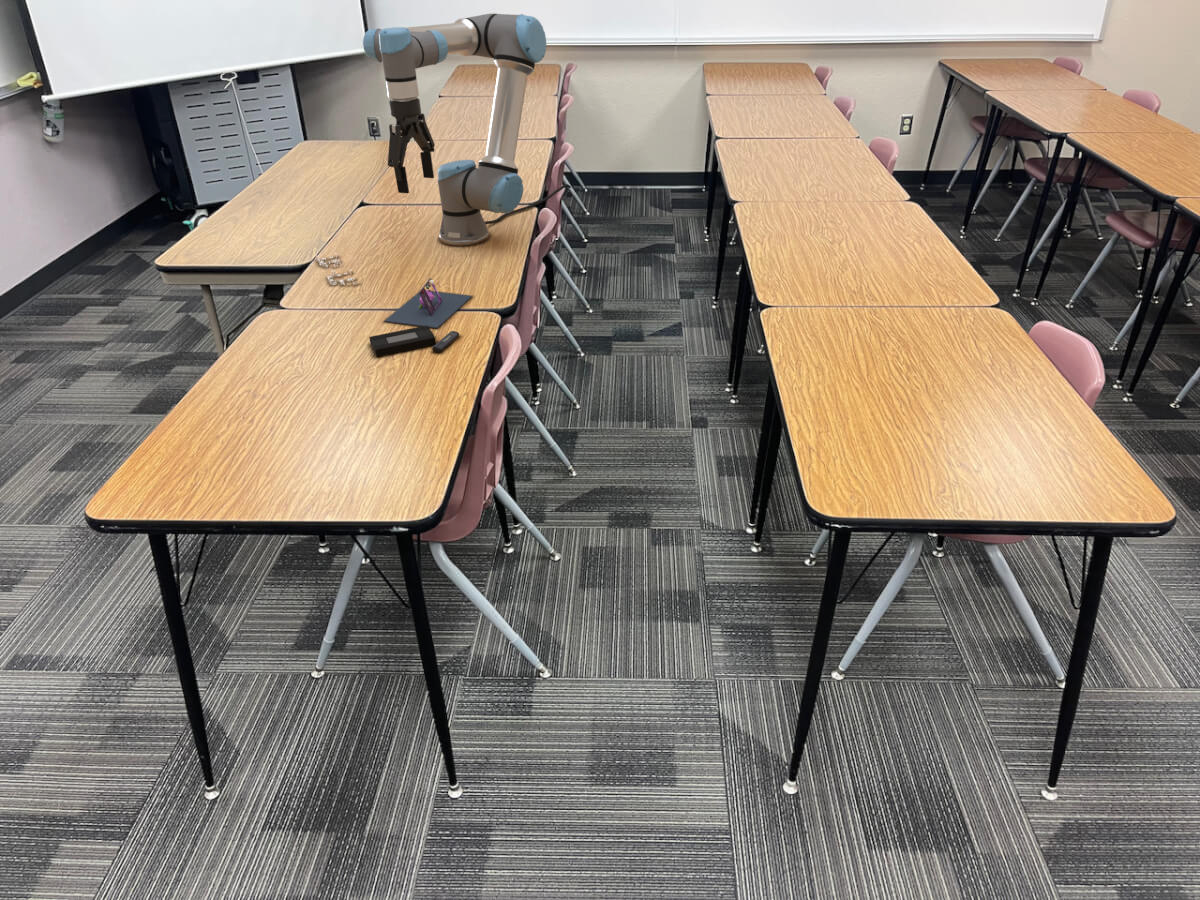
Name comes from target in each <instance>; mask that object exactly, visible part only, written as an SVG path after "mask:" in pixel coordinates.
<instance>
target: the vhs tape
mask: <svg viewBox="0 0 1200 900" xmlns="http://www.w3.org/2000/svg"><path fill="white" fill-rule="evenodd" d="M368 339H369V343H370V346H371V348H372V350H373V352H374V354H375V357H376V358H379V357H384V356H390V355H395V354H398V353H403V352H408V351H412V350H417V349H422V348H427V347H433V346H434V345H435V344H437V340H436V336H435V335H434V333H433V332H432V330H431V328H429V327H428V325H426V326H421V327H419V326H415V327H411V328H406V329H400V330H396V331H392V332H387V333H382V334H377V335H372V336H369V337H368Z"/></svg>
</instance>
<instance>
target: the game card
mask: <svg viewBox="0 0 1200 900" xmlns="http://www.w3.org/2000/svg"><path fill="white" fill-rule="evenodd" d="M431 287H432V289H433V290H431V289H430V288H431ZM425 288H426V289H425ZM432 291H435V292H436V294H437V296H438V298H439V299H438V301H439V303H438V304H437V305H436V307H435V308H434V306H433V304H432V301H433V299H434V298H435V296H434V292H432ZM438 292H439V291H438V290H437V287H436V286H435V281H434V280H433V279H432V278H428V279H427V281H426V282H425V284H424V285H423V286H422V287H421V289H420V290H419V291H418V293H419V294H420V296H421V297H420V303H421V305H420V306H419V309H420V308H421V307H422V306H426V308H427V310H428V312H429V314H430V315H433V313H434V312H435V310H436V309H437V308H438V306H439V305H440V303H441V302H442V299H441V297H440V295H439V293H438Z"/></svg>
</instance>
